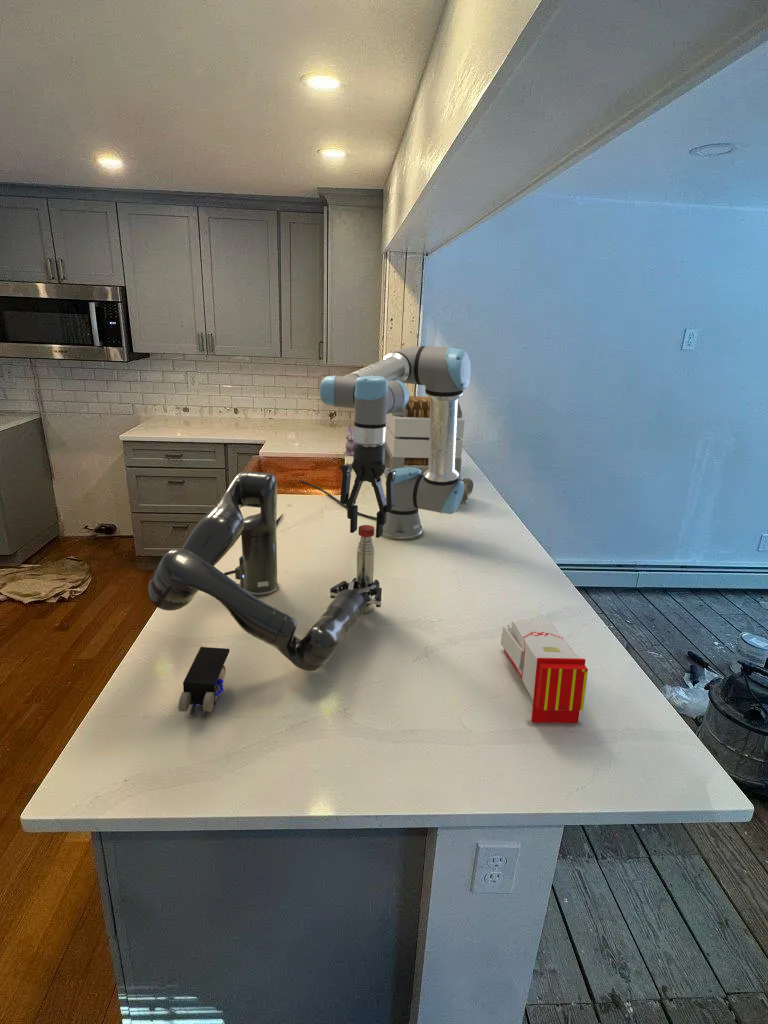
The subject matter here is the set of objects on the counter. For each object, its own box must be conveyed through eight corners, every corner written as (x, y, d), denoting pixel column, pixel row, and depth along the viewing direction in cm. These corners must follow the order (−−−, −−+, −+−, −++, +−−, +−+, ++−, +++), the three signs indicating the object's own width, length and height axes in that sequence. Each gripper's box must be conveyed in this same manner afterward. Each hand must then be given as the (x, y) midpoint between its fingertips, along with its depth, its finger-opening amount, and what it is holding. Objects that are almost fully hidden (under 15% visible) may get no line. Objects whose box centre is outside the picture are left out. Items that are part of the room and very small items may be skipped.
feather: (290, 508, 223) (292, 504, 223) (272, 532, 197) (275, 527, 196) (286, 505, 223) (289, 501, 223) (268, 529, 197) (271, 525, 196)
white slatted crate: (382, 463, 289) (386, 382, 275) (445, 464, 293) (451, 384, 279) (390, 482, 257) (394, 392, 243) (460, 483, 261) (468, 394, 247)
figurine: (348, 456, 299) (349, 428, 294) (341, 451, 307) (341, 424, 302) (364, 455, 303) (365, 427, 298) (356, 450, 312) (357, 423, 307)
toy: (547, 606, 135) (596, 665, 106) (541, 658, 138) (589, 729, 108) (496, 604, 134) (532, 664, 105) (492, 657, 137) (526, 729, 108)
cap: (358, 531, 144) (358, 524, 144) (373, 531, 144) (374, 525, 144) (358, 537, 140) (358, 530, 140) (374, 537, 141) (374, 530, 140)
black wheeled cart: (215, 728, 107) (233, 673, 120) (211, 698, 104) (230, 644, 117) (179, 727, 107) (201, 672, 120) (174, 697, 103) (197, 644, 117)
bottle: (355, 612, 147) (357, 533, 140) (355, 604, 152) (357, 526, 144) (371, 612, 148) (375, 533, 140) (372, 604, 152) (375, 527, 144)
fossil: (437, 484, 244) (466, 465, 239) (450, 500, 247) (479, 482, 242) (436, 505, 224) (468, 485, 219) (450, 523, 227) (482, 504, 222)
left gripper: (316, 619, 138) (342, 589, 153) (372, 631, 134) (393, 598, 149) (316, 591, 135) (343, 563, 150) (373, 603, 131) (394, 572, 147)
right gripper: (412, 445, 135) (407, 535, 142) (339, 435, 141) (338, 522, 149) (402, 451, 128) (397, 545, 136) (325, 441, 134) (325, 531, 142)
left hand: (368, 581), depth 150 cm, fingers closed on bottle, 4 cm apart
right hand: (366, 533), depth 142 cm, fingers open, 6 cm apart
